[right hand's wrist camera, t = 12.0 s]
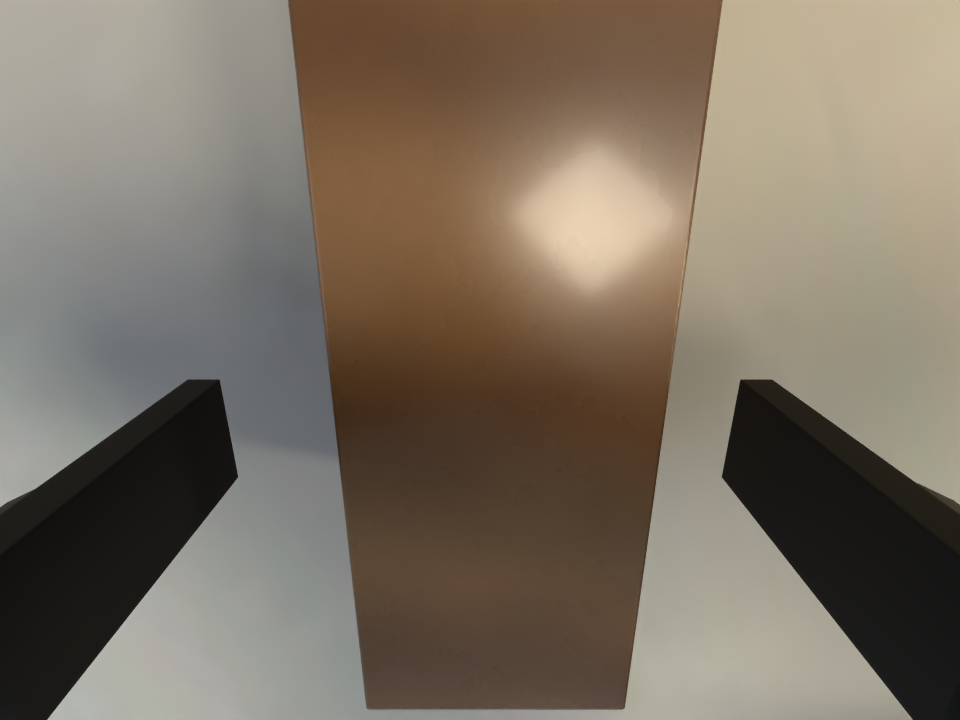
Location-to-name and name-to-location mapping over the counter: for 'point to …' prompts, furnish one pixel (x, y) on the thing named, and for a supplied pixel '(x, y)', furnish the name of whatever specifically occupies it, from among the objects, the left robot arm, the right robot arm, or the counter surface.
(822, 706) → the counter surface
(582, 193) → the post
